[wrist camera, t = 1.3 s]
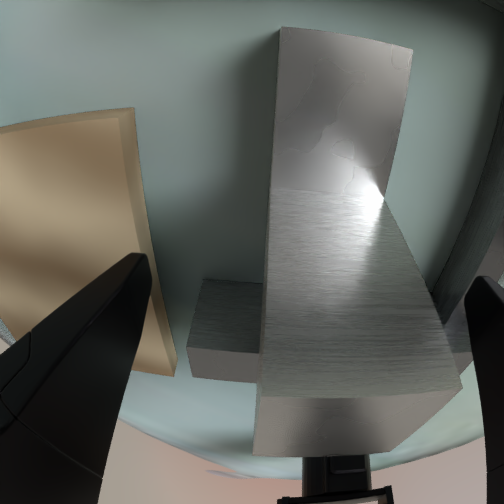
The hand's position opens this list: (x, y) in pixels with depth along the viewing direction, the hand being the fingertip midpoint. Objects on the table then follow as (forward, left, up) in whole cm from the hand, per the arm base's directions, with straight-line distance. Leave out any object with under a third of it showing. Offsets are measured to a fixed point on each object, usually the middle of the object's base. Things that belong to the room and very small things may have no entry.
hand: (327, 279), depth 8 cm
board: (-4, +12, -4) cm, 13 cm away
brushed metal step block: (+2, 0, -4) cm, 5 cm away
